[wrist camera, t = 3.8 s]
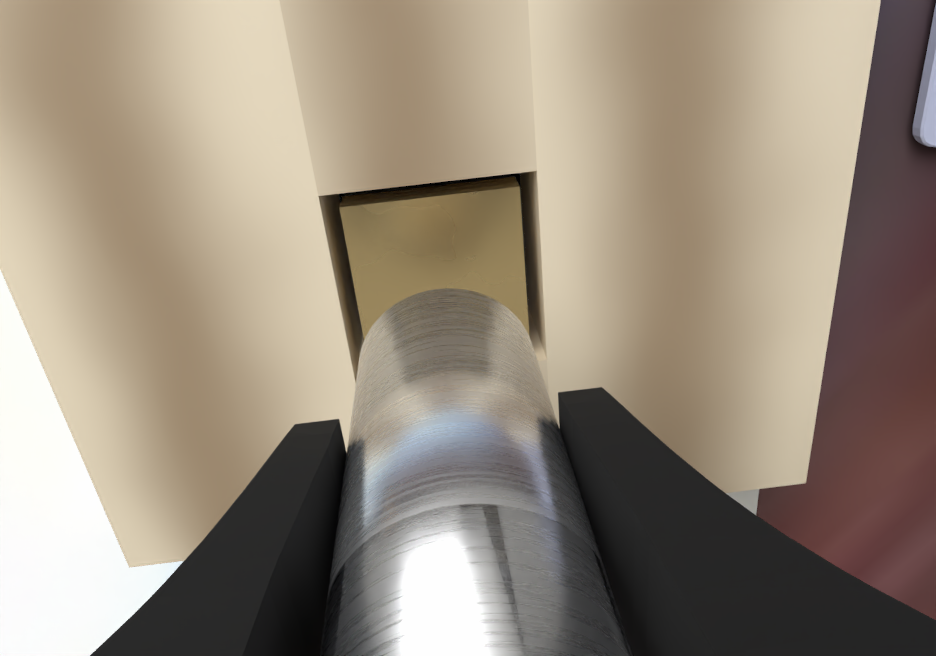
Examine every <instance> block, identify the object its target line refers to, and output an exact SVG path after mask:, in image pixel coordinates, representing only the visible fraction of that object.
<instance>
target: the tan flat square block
mask: <svg viewBox="0 0 936 656" xmlns="http://www.w3.org/2000/svg"><path fill="white" fill-rule="evenodd" d="M339 208H340V214H341V219H342V224H343V230H344V235H345V241H346V246H347V251H348V257H349V262H350V267H351V273H352V278H353V283H354V289H355V294H356V299H357V305H358V310H359V316H360V321H361V326H362V332H363V337H364V340H365V337H366V335H367V334H368V332H369V330H370V329H371V327H372V326H373V324H374V323H375V322H376V321H377V319H378V318H379V317H380V316H381V315H382V314H383V313H384V312H385V311H386V310H388V309H389V308H391V307H392V306H393V305H395V304H396V303H398V302H400V301H401V300H403V299H405V298H407V297H410V296H412V295H415V294H417V293H421V292H424V291H428V290H435V289H446V288H455V289H465V290H469V291H474V292H478V293H481V294H483V295H486V296H489V297H491V298H492V299H494V300H496V301H498V302H500V303H501V304H503V305H504V306H505V307H507V308H508V309H509V310H510V311H511V312H512V313H514V314H515V315H516V317H517V318H518V319H519V320H520V321H521V323H522V324H523V326H524V327H525V329H526V331H527V332H528V335H529V322H528V306H527V291H526V275H525V260H524V244H523V229H522V213H521V198H520V186H519V184H518V182H517V180H516V178H515V177H506V178H497V179H488V180H480V181H471V182H462V183H454V184H445V185H436V186H428V187H419V188H410V189H402V190H393V191H384V192H376V193H367V194H358V195H350V196H343V197H342V200H341V204H340V207H339Z"/></svg>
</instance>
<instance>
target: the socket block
mask: <svg viewBox="0 0 936 656" xmlns="http://www.w3.org/2000/svg"><path fill="white" fill-rule="evenodd" d="M880 2H881V0H0V269H1V272H2V274H3V276H4V279H5V281H6V283H7V286H8V288H9V290H10V292H11V295H12V297H13V299H14V302H15V304H16V306H17V309H18V311H19V313H20V316H21V318H22V320H23V323H24V325H25V327H26V329H27V332H28V334H29V336H30V339H31V341H32V343H33V346H34V348H35V350H36V353H37V355H38V357H39V360H40V362H41V364H42V367H43V369H44V371H45V373H46V376H47V378H48V380H49V383H50V385H51V387H52V390H53V392H54V394H55V397H56V399H57V401H58V404H59V406H60V408H61V411H62V413H63V415H64V417H65V420H66V422H67V424H68V427H69V429H70V431H71V434H72V436H73V438H74V441H75V443H76V445H77V448H78V450H79V452H80V454H81V457H82V459H83V461H84V464H85V466H86V468H87V471H88V473H89V475H90V478H91V480H92V482H93V485H94V487H95V489H96V492H97V494H98V496H99V498H100V501H101V503H102V505H103V508H104V510H105V512H106V515H107V517H108V519H109V522H110V524H111V526H112V529H113V531H114V533H115V536H116V538H117V540H118V542H119V545H120V547H121V549H122V552H123V554H124V556H125V559H126V561H127V563H128V566H129V567H137V566H145V565H153V564H161V563H169V562H177V561H185V559H186V558H187V557H188V556H189V555H190V554H191V553H192V552H193V551H194V549H195V548H196V547H197V546H198V545H199V544H200V543H201V542H202V540H203V539H204V538H205V537H206V536H207V535H208V533H209V532H210V531H211V530H212V529H213V527H214V526H215V525H216V524H217V522H218V521H219V520H220V519H221V518H222V516H223V515H224V514H225V513H226V511H227V510H228V509H229V508H230V506H231V505H232V504H233V503H234V501H235V500H236V499H237V498H238V497H239V495H240V494H241V493H242V492H243V490H244V489H245V488H246V486H247V485H248V484H249V483H250V481H251V480H252V479H253V477H254V476H255V475H256V473H257V472H258V471H259V470H260V468H261V467H262V466H263V464H264V463H265V462H266V460H267V459H268V458H269V456H270V455H271V454H272V452H273V451H274V450H275V449H276V447H277V446H278V445H279V443H280V442H281V441H282V439H283V438H284V437H285V436H286V434H287V433H288V432H289V431H290V430H291V428H292V427H293V426H294V425H295V424H300V423H308V422H317V421H325V420H333V419H339V421H340V425H341V430H342V435H343V439H344V444H345V448H346V453H347V447H348V439H349V432H350V424H351V417H352V409H353V402H354V394H355V386H356V379H357V371H358V364H359V356H360V352H361V348H362V345H363V342H364V337H363V332H362V326H361V321H360V316H359V310H358V305H357V299H356V294H355V289H354V283H353V278H352V273H351V267H350V262H349V257H348V251H347V246H346V241H345V235H344V230H343V224H342V219H341V214H340V208H339V207H340V204H341V203H340V198H339V194H340V193H349V192H358V191H366V190H375V189H384V188H392V187H401V186H410V185H419V184H427V183H436V182H445V181H453V180H462V179H471V178H479V177H488V176H497V175H505V174H514V173H520V185H521V201H522V217H523V232H524V248H525V264H526V279H527V295H528V305H527V306H528V322H529V337H530V339H531V342H532V345H533V348H534V351H535V354H536V357H537V360H538V363H539V367H540V370H541V373H542V376H543V379H544V382H545V385H546V388H547V391H548V394H549V398H550V401H551V404H552V407H553V410H554V413H555V416H556V419H557V422H558V426H559V405H558V392H565V391H574V390H582V389H590V388H598V387H602V388H603V389H605V390H606V391H607V392H608V393H610V394H611V395H612V396H613V397H614V398H615V399H616V400H617V401H618V402H619V403H620V404H621V405H623V406H624V407H625V408H626V409H627V410H628V411H629V412H630V413H631V414H632V415H633V416H634V417H636V418H637V419H638V420H639V421H640V422H641V423H642V424H643V425H644V426H645V427H647V428H648V429H649V430H650V431H651V432H652V433H653V434H654V435H655V436H657V437H658V438H659V439H660V440H661V441H662V442H663V443H665V444H666V445H667V446H668V447H669V448H670V449H672V450H673V451H674V452H675V453H676V454H677V455H679V456H680V457H681V458H682V459H684V460H685V461H686V462H687V463H688V464H690V465H691V466H692V467H693V468H694V469H696V470H697V471H698V472H699V473H701V474H702V475H703V476H704V477H705V478H707V479H708V480H709V481H710V482H712V483H713V484H714V485H716V486H717V487H718V488H719V489H721V490H722V491H723V492H725V493H731V492H739V491H747V490H755V489H763V488H771V487H779V486H787V485H795V484H803V483H806V479H807V472H808V466H809V459H810V453H811V446H812V440H813V433H814V427H815V421H816V414H817V408H818V401H819V395H820V388H821V382H822V376H823V369H824V363H825V356H826V350H827V343H828V337H829V331H830V324H831V318H832V311H833V305H834V298H835V292H836V285H837V279H838V273H839V266H840V260H841V253H842V247H843V240H844V234H845V228H846V221H847V215H848V208H849V202H850V195H851V189H852V183H853V176H854V170H855V163H856V157H857V150H858V144H859V137H860V131H861V125H862V118H863V112H864V105H865V99H866V92H867V86H868V80H869V73H870V67H871V60H872V54H873V47H874V41H875V35H876V28H877V22H878V15H879V9H880ZM559 429H560V427H559Z"/></svg>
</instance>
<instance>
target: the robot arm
mask: <svg viewBox="0 0 936 656" xmlns="http://www.w3.org/2000/svg"><path fill="white" fill-rule="evenodd" d="M913 136H914V138H915V140H916V141H918V142H919V143H921V144H923V145H926V146H928V147H936V5H935V10H934V15H933V21H932V26H931V31H930V37H929V42H928V47H927V53H926V58H925V63H924V69H923V74H922V79H921V84H920V90H919V95H918V100H917V106H916V111H915V116H914V122H913ZM558 405H559V427H560V432H561V435H562V438H563V441H564V444H565V447H566V450H567V453H568V457H569V460H570V463H571V466H572V469H573V472H574V475H575V478H576V481H577V484H578V488H579V491H580V494H581V497H582V500H583V503H584V506H585V509H586V512H587V515H588V519H589V522H590V525H591V528H592V531H593V534H594V537H595V540H596V543H597V547H598V550H599V553H600V556H601V559H602V562H603V565H604V568H605V571H606V574H607V578H608V581H609V584H610V587H611V590H612V593H613V596H614V599H615V602H616V605H617V609H618V612H619V615H620V618H621V621H622V624H623V627H624V630H625V633H626V636H627V640H628V643H629V646H630V649H631V652H632V655H633V656H936V620H934V619H932V618H930V617H928V616H926V615H925V614H923V613H921V612H919V611H917V610H915V609H913V608H911V607H909V606H907V605H906V604H904V603H902V602H900V601H898V600H896V599H894V598H892V597H890V596H888V595H887V594H885V593H883V592H881V591H879V590H877V589H875V588H873V587H871V586H870V585H868V584H866V583H864V582H863V581H861V580H859V579H857V578H855V577H854V576H852V575H850V574H848V573H847V572H845V571H843V570H841V569H840V568H838V567H836V566H835V565H833V564H831V563H830V562H828V561H826V560H825V559H823V558H822V557H820V556H818V555H817V554H815V553H814V552H812V551H810V550H809V549H807V548H805V547H804V546H802V545H801V544H799V543H797V542H796V541H794V540H793V539H791V538H789V537H788V536H786V535H784V534H783V533H781V532H780V531H778V530H777V529H775V528H774V527H772V526H771V525H769V524H768V523H766V522H765V521H763V520H762V519H761V518H759V517H758V516H756V515H755V514H754V513H752V512H751V511H749V510H748V509H747V508H745V507H744V506H743V505H741V504H740V503H738V502H737V501H736V500H734V499H733V498H731V497H730V496H729V495H727V494H726V493H725V492H723V491H722V490H721V489H719V488H718V487H717V486H716V485H714V484H713V483H712V482H710V481H709V480H708V479H707V478H705V477H704V476H703V475H702V474H701V473H699V472H698V471H697V470H696V469H694V468H693V467H692V466H691V465H690V464H688V463H687V462H686V461H685V460H684V459H682V458H681V457H680V456H679V455H677V454H676V453H675V452H674V451H673V450H672V449H670V448H669V447H668V446H667V445H666V444H665V443H663V442H662V441H661V440H660V439H659V438H658V437H657V436H655V435H654V434H653V433H652V432H651V431H650V430H649V429H648V428H647V427H645V426H644V425H643V424H642V423H641V422H640V421H639V420H638V419H637V418H636V417H634V416H633V415H632V414H631V413H630V412H629V411H628V410H627V409H626V408H625V407H624V406H623V405H621V404H620V403H619V402H618V401H617V400H616V399H615V398H614V397H613V396H612V395H611V394H610V393H608V392H607V391H606V390H605V389H603V388H602V387H598V388H590V389H582V390H574V391H565V392H558ZM346 454H347V453H346V448H345V444H344V439H343V435H342V430H341V425H340V421H339V419H333V420H325V421H317V422H308V423H300V424H295V425H294V426H293V427H292V428H291V430H290V431H289V432H288V433H287V434H286V436H285V437H284V438H283V439H282V441H281V442H280V443H279V445H278V446H277V447H276V449H275V450H274V451H273V452H272V454H271V455H270V456H269V458H268V459H267V460H266V462H265V463H264V464H263V466H262V467H261V468H260V470H259V471H258V472H257V473H256V475H255V476H254V477H253V479H252V480H251V481H250V483H249V484H248V485H247V486H246V488H245V489H244V490H243V492H242V493H241V494H240V495H239V497H238V498H237V499H236V500H235V501H234V503H233V504H232V505H231V506H230V508H229V509H228V510H227V511H226V513H225V514H224V515H223V516H222V518H221V519H220V520H219V521H218V522H217V524H216V525H215V526H214V527H213V529H212V530H211V531H210V532H209V533H208V535H207V536H206V537H205V538H204V539H203V540H202V542H201V543H200V544H199V545H198V546H197V547H196V548H195V549H194V551H193V552H192V553H191V554H190V555H189V556H188V557H187V558H186V559H185V561H184V562H183V563H182V564H181V565H180V566H179V567H178V568H177V570H176V571H175V572H174V573H173V574H172V575H171V576H170V577H169V578H168V580H167V581H166V582H165V583H164V584H163V585H162V586H161V587H160V588H159V589H158V590H157V591H156V592H155V593H154V594H153V595H152V597H151V598H150V599H149V600H148V601H147V602H146V603H145V604H144V605H143V606H142V607H141V608H140V609H139V610H138V611H137V612H136V613H135V614H134V615H133V616H132V617H131V618H129V619H128V620H127V621H126V622H125V623H124V624H123V625H122V626H121V627H120V628H119V629H118V630H117V631H116V632H115V633H114V634H113V635H111V636H110V637H109V638H108V639H107V640H106V641H105V642H104V643H103V644H102V645H101V646H100V647H99V648H98V649H97V650H96V651H95V652H93V653H92V654H91V655H90V656H320V650H321V643H322V635H323V628H324V620H325V613H326V605H327V598H328V590H329V582H330V575H331V567H332V560H333V552H334V545H335V537H336V530H337V522H338V515H339V507H340V500H341V492H342V484H343V477H344V469H345V462H346Z"/></svg>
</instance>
